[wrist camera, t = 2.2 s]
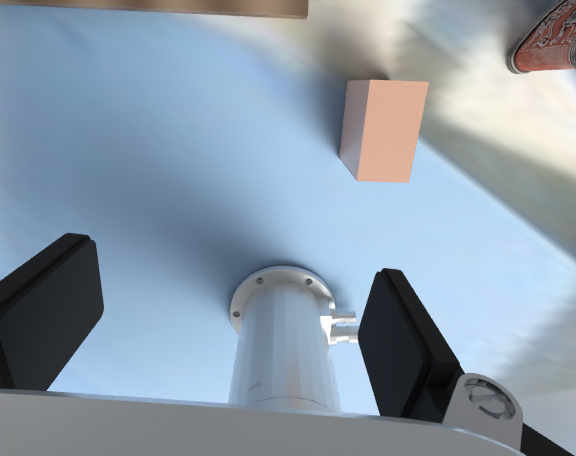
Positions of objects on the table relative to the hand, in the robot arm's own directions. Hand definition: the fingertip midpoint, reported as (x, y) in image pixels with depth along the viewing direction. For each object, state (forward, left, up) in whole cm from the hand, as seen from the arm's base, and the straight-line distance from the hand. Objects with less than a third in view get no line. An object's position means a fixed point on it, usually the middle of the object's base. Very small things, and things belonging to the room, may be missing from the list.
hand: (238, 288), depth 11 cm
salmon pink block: (-9, -3, -22) cm, 24 cm away
